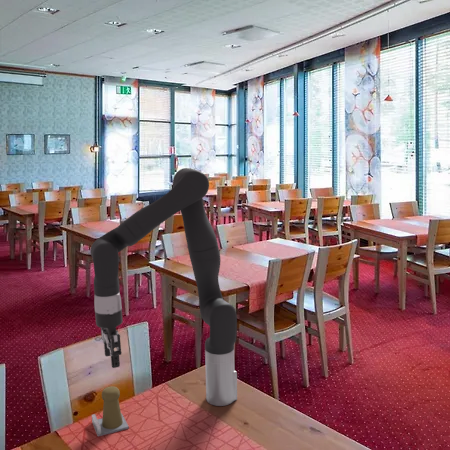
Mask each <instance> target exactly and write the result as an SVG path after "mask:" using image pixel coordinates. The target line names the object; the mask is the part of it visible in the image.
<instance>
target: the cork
mask: <svg viewBox="0 0 450 450" xmlns="http://www.w3.org/2000/svg"><path fill="white" fill-rule="evenodd" d="M120 393H121V392H120V389H119V388H118V387H117V386H112V385H111V386H106V387H105V388H104V389H102V391H101V398H102V400H103V409H102V426H103V427H104V428H106V429H114V428H117V427H119V426H121V425H122V423H123V420H122V415H123V414H122V415H121V413H122V410H121V406H120V401H119V399H120V395H121V394H120Z"/></svg>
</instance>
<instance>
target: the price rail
mask: <svg viewBox="0 0 450 450" xmlns="http://www.w3.org/2000/svg"><path fill="white" fill-rule="evenodd" d="M97 419H98V418H97V415H96V414H95V413H94V414H91V422H92V425H93V428H94V431H95V433H96V435H97V437H101V427H100V425H99V422H98V420H97Z"/></svg>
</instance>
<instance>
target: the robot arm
mask: <svg viewBox="0 0 450 450" xmlns="http://www.w3.org/2000/svg"><path fill="white" fill-rule="evenodd" d="M209 188H210V181H209V178H208V175H206V174H205V173H204V172H203V171H201V170H197V169H195V168H189V167H185V168H181V169H179V170H178V171H177V172H176V173H175V175H174V176H173V179H172V188H171V189H170V190H169V191H168V192H166V193H165V194H164V195H162V196H161V197H160V198H158V199H157V200H155V201H154V202H152V203H150V204H148V205H146V206H144V207H142V208H141V209H139V210H137V211H136V212H134V213H133V214H132V215H130V216H129V217H128V218H126V219H125V220H124V221H123V222H121V223H120V224H119V225H118V226H117V227H114V228H113V229H111V230H110V231H108V232H106V233H103V234H102V235H101V236H100V237H99V238H97V239H96V240H94V242H93V243H92V245H91V247H90V252H89V253H90V256H91V258H92V262H93V263H92V264H93V272H94V278H93V292H94V302H93V303H94V314H95V315H94V316H95V317H94V318H95V325H96V327H98V328H100V333H101V334H100V339H101V340H102V344H103V349H104V356H105V357H110V362H111V368H112V369H115V368H119V367H121V366H120V363H121V362H120V356H121V355H122V345H121V334H120V333H119V330H117V327H118V326H121V324H123V308H122V297H121V294H120V293H121V291H120V280H119V279H120V278H119V263H120V258H119V253H120V252H121V251H123V250H124V249H126V248H128V247H132V246H134V245H136V244H137V243H138V242H140V241H141V240H142V239H144V238H145V237H146V236H148V235H149V234H150V233H151V232H152V231H153V230H155V229H156V228H157V227H158V226H160V225H161V224H163V223H164V222H165V221H167V220H169V219H170V218H171V217H172V216H174V215H175V214H178V213H179V212H180V213H181V217H182V221H183V229H184V230H183V231H184V233H185V239H186V240H185V241H186V245H187V251H188V255H189V260H190V262H191V264H190V265H191V267H192V271H193V275H194V279H195V280H194V281H195V284H196V286H197V287H196V288H197V293H198V303H199V312H200V316H201V319H202V320H203V322H204V323H205V324H206V325H208V326H209V337H208V338H206V339H205V341H204V356H205V357H204V358H205V399H206V402H207V403H208V404H210V405H212V406H217V407H222V406H223V407H224V406H228V405H231V404H232V403H234V402H235V401H237V400H238V373H237V371H236V370H235V343H236V341H237V328H238V316H237V311H236V309H235V307H234V306H233V305H232V304H231V303H229V302H227V301H226V300H225V299H224V296H223V295H222V292H221V291H222V290H221V287H220V283H219V274H220V268H221V253H220V247H219V242H218V239H217V236H216V233H215V230H214V228H213V227H212V223H211V222H210V220H209V218H208V215H207V213H206V210H205V206H204V199H203V198H205V197H206V194H207V193H208V192H209ZM115 349H116V350H115Z"/></svg>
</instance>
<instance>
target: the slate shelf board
mask: <svg viewBox="0 0 450 450" xmlns="http://www.w3.org/2000/svg"><path fill="white" fill-rule="evenodd" d="M121 415H122V420H123V423H122V425H121V426H119V427H117V428H114V429H106V428H104V427H103V426H102V418H103V417H102V418H97V420H98V422H99V425H100V427H101V436H106V435H109V434H113V433H116V432H120V431H125V430H127V429H129V424H128V422H127V420H126V418H125V417H124V415H123V413H122V412H121ZM101 436H100V437H101Z"/></svg>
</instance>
